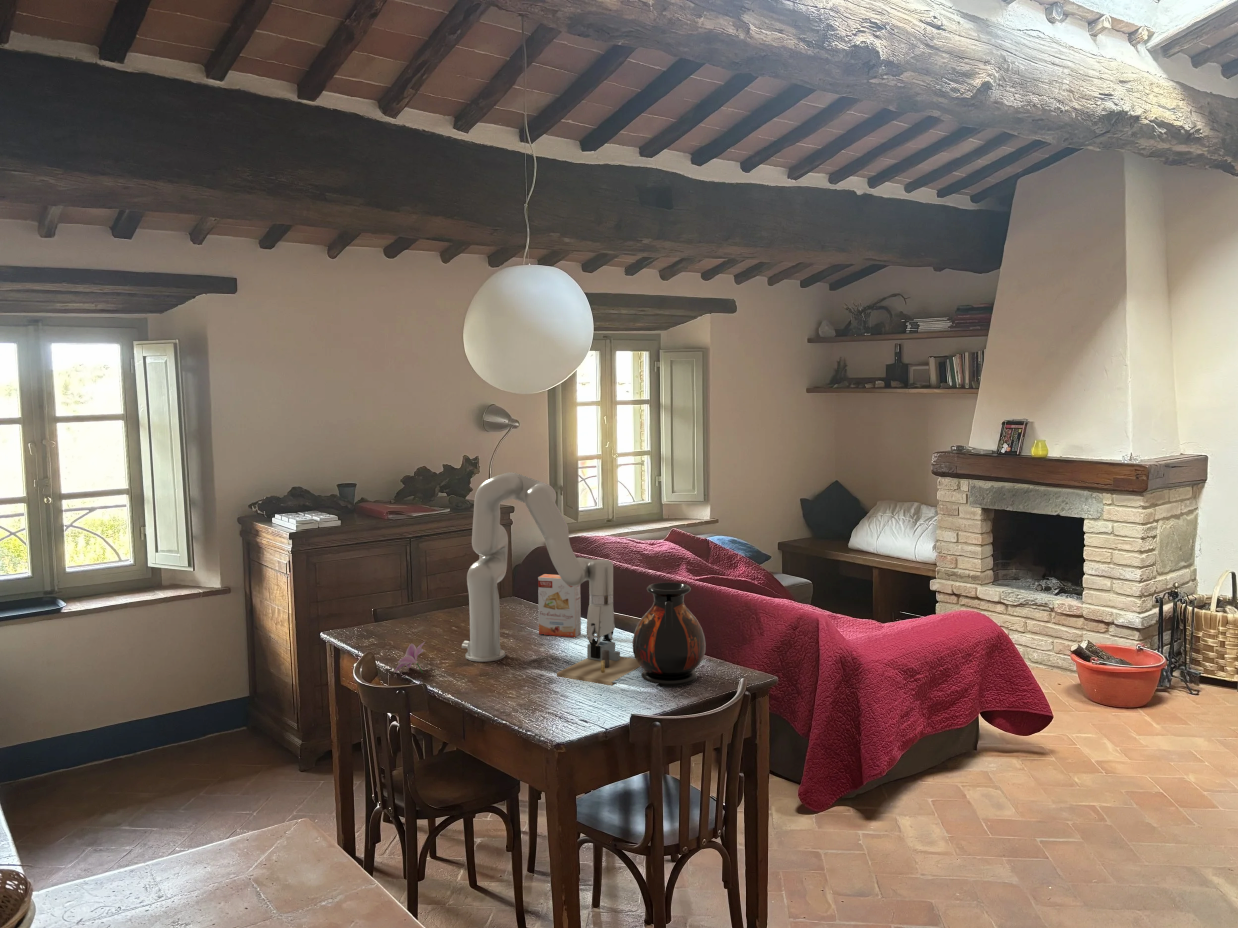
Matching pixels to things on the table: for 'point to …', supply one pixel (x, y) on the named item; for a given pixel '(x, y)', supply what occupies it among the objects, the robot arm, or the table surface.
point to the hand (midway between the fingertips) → (601, 654)
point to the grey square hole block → (605, 646)
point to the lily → (410, 656)
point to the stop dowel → (602, 666)
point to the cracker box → (558, 607)
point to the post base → (599, 669)
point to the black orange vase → (669, 638)
